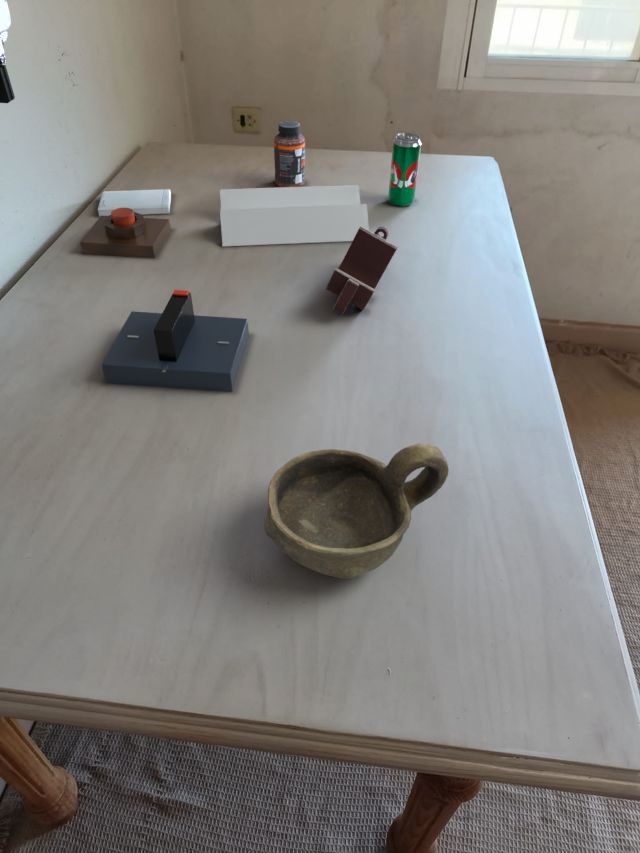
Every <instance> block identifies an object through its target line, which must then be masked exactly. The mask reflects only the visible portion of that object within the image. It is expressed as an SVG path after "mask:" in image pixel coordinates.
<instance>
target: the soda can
mask: <svg viewBox="0 0 640 853" xmlns="http://www.w3.org/2000/svg"><path fill="white" fill-rule="evenodd" d="M420 137H421V136H420V135H419V134H417V133H413V132H400V133H397V134H396V135H395V138H394V139H393V141H392V145H391V146H392V147H391V158H390V170H389V182H388V192H387V200H388V202H389V203H390V204H391V205H392V206H395V207H400V208H404V207H409V206H411V205H413V203H414V202H415V201H416V200H415V199H416V191H417V184H418V183H417V182H418V175H419V168H420V167H419V166H420V157H421V150H422V142H421V138H420Z"/></svg>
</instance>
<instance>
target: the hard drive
mask: <svg viewBox="0 0 640 853" xmlns="http://www.w3.org/2000/svg"><path fill="white" fill-rule="evenodd" d="M171 193H172V192H171V189H170V188H169V189H135V190H109V191H108V190H105V191H102V193H101V196H100V199H99V203H98V207H97V213H98V217H99V218H100V216H101V215H102V216H109V215H111V212H112V211H113V210H115V209H117V208H130V209H132V210H133V211H134V212H136V213H139V214H142V215H162V214H163V215H165V214H170V212H171V211H170V210H171V203H172V202H171V200H172V194H171Z"/></svg>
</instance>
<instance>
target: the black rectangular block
mask: <svg viewBox="0 0 640 853" xmlns="http://www.w3.org/2000/svg"><path fill="white" fill-rule="evenodd" d="M161 313H162V315H161V317H160V318H159V320H158V322H157V324H156V326H155V328H154V335H155V341H156V346H157V351H158V356H159V360H161V361H174V362H177V360H178V358H179V355H180V353H181V351H182V349H183V347H184V344H185V342H186V340H187V338H188V335H189V333H190V331H191V329H192V327H193V324H194V322H195V318H194V315H195V312H194V305H193V298H192V292H191V291H190V290H184V289H174V290H173V292H172V294H171V295H170V298H169V299H168V302H167V303H166V305H165V307H164V309H163V311H162V312H161Z"/></svg>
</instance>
